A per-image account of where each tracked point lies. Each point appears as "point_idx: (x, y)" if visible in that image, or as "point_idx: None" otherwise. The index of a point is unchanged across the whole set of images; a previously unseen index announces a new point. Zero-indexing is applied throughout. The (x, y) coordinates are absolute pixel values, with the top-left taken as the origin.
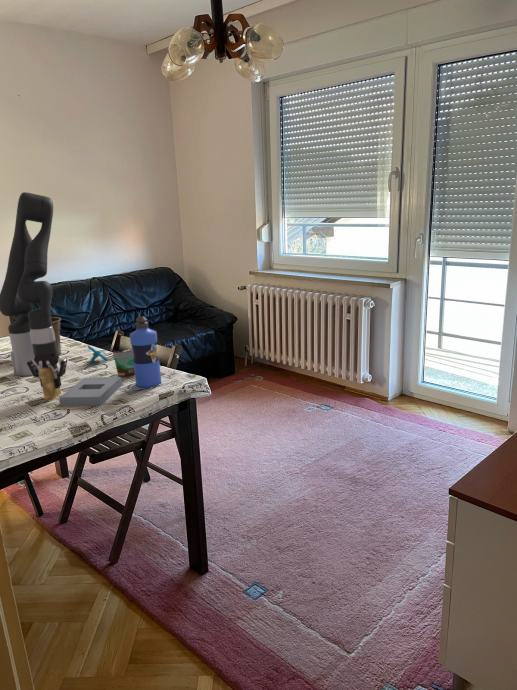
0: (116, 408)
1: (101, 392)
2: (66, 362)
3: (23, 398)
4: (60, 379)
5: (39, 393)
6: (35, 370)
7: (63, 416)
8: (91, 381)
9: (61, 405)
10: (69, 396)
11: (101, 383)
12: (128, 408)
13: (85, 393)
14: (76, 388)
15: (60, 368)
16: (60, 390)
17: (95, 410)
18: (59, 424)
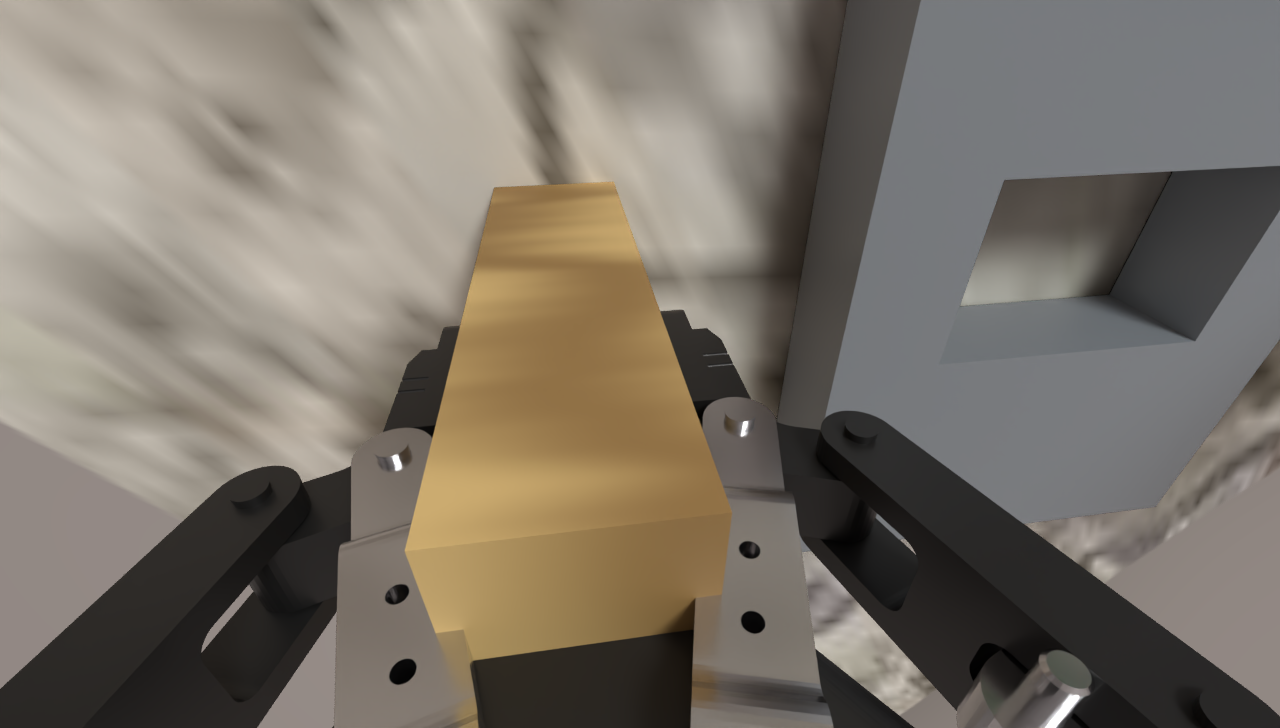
0: (1185, 481)
1: (1189, 427)
2: (1173, 678)
3: (194, 356)
4: (744, 387)
5: (259, 175)
6: (170, 601)
7: (847, 602)
8: (1135, 16)
9: None
10: (888, 525)
11: (1265, 136)
12: (1259, 474)
13: (1034, 456)
14: (922, 337)
15: (925, 652)
16: (619, 201)
17: None
18: (853, 664)
